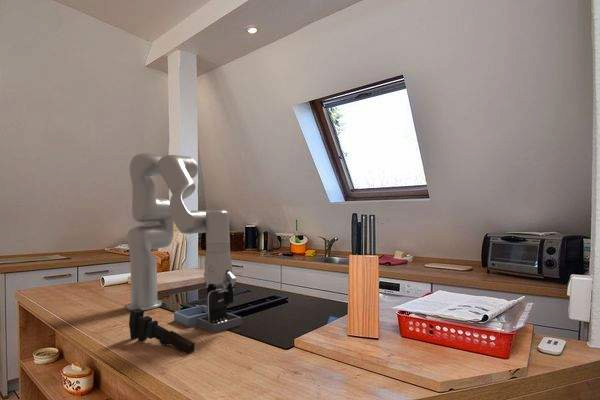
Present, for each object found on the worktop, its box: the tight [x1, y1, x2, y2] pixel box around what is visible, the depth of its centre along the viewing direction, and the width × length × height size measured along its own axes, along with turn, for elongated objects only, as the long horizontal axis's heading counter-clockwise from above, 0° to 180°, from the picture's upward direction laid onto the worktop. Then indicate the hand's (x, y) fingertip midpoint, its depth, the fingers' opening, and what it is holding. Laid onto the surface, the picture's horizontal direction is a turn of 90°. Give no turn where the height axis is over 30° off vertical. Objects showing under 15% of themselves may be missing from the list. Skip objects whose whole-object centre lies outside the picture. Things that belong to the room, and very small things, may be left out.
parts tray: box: [173, 304, 208, 328], centre depth 126 cm, size 10×11×3 cm
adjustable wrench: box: [128, 308, 196, 355], centre depth 105 cm, size 8×3×25 cm
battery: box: [206, 288, 231, 324], centre depth 120 cm, size 7×4×11 cm, turn 140°
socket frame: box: [196, 312, 243, 334], centre depth 120 cm, size 10×10×2 cm
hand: (220, 301), depth 120 cm, fingers open, 9 cm apart
